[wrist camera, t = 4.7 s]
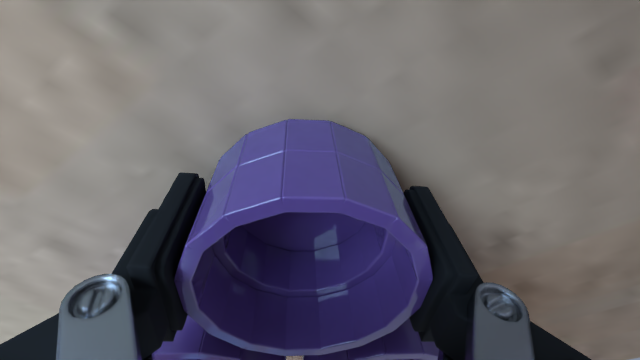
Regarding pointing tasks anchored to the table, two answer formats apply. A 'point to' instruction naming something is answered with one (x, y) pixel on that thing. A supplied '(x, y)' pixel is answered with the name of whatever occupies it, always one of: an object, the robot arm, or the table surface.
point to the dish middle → (205, 347)
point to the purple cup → (388, 348)
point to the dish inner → (303, 244)
